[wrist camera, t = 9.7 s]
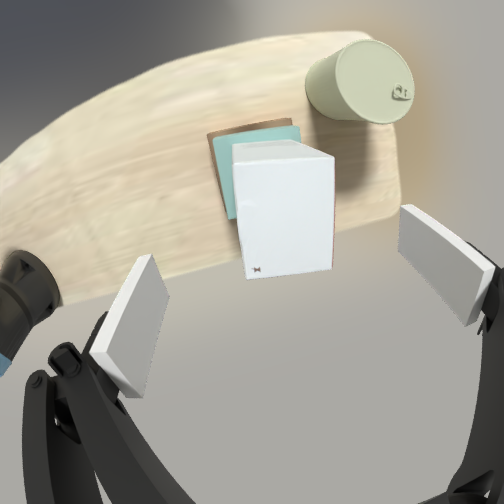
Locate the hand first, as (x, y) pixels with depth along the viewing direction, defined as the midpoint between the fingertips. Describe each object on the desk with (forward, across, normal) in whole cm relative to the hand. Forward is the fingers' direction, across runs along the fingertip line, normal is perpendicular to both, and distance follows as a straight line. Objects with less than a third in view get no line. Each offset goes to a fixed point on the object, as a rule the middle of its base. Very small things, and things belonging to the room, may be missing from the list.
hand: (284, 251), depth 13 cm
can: (+25, +13, +9) cm, 29 cm away
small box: (+17, +1, 0) cm, 17 cm away
